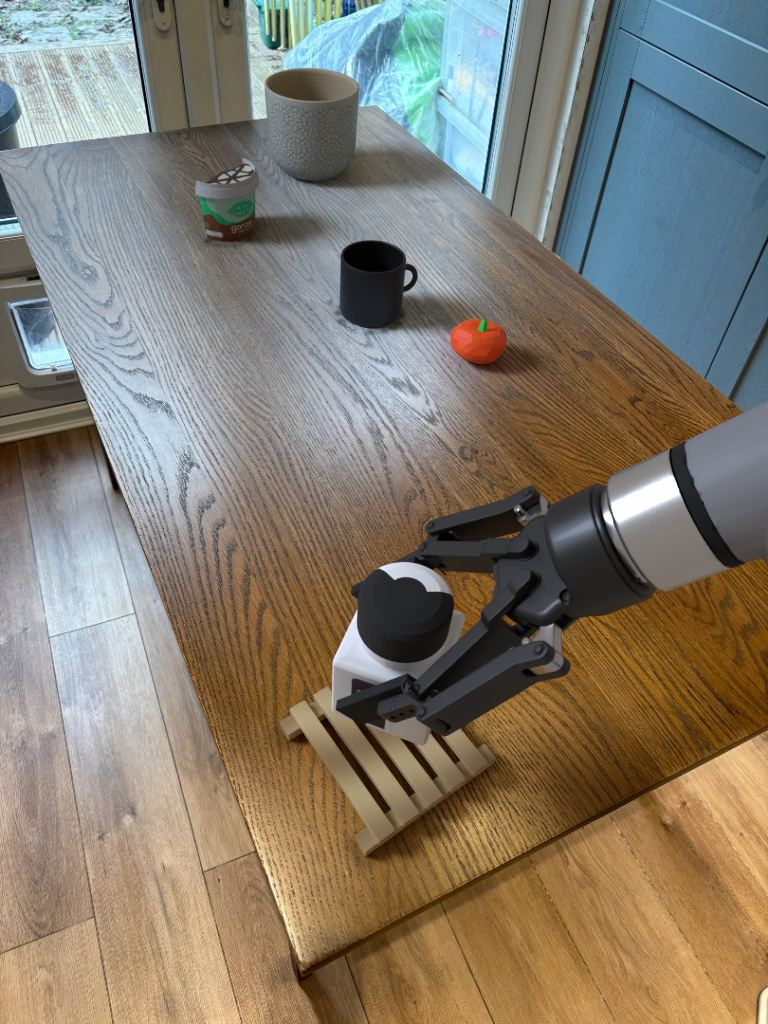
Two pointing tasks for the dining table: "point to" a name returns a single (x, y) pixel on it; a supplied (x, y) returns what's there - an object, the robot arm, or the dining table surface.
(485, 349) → the pumpkin
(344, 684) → the container
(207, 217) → the food container
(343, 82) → the planter
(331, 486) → the dining table surface
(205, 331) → the dining table surface
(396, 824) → the rack
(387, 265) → the mug
